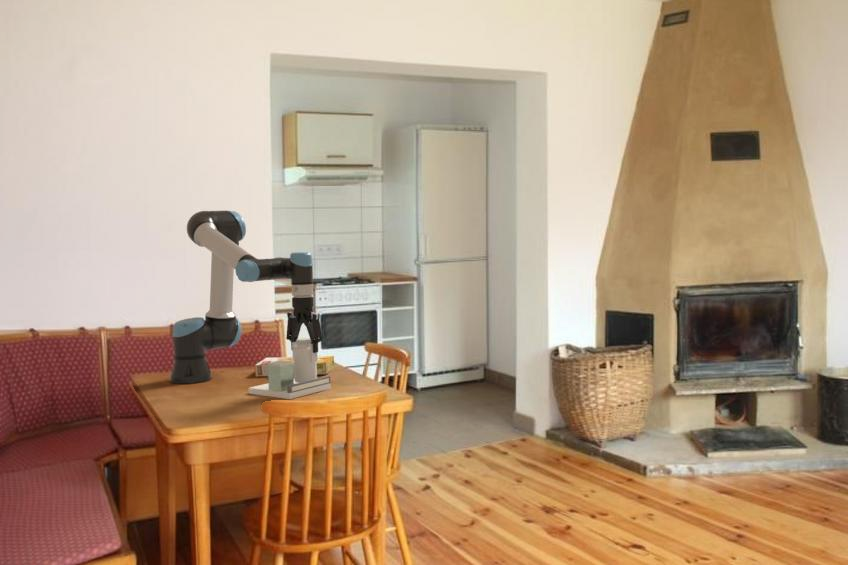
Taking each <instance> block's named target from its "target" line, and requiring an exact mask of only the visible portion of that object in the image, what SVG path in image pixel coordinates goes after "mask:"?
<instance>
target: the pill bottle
mask: <svg viewBox="0 0 848 565" xmlns="http://www.w3.org/2000/svg"><path fill="white" fill-rule="evenodd" d="M310 343H311V339H310V337H301V338H298V339H297V340H296V344H297V345H298V346H297V347H295V348H294V350H293V351H292V357H293V359H294V375H293V378H294V380H295V382H298V383H301V382H306V381H310V380H314V379H318V375H317V365H316V362H310Z"/></svg>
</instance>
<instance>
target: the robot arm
mask: <svg viewBox="0 0 848 565" xmlns="http://www.w3.org/2000/svg"><path fill="white" fill-rule="evenodd" d="M246 232H247V226H246V222H245V220H244V218H243V216H242V215H241V214H240V213H239V212H237V211H235V210H201V211H198V212H195V213H194V214H193V215H192V216H190V218H189V219H188V221H187V224H186V233H187V236H188V238H189V239H190V240H191V241H192V243H194V244H195V245H196V246H198V247H201V248H202V247H203V248H205V249H207V250H208V251H209V252H211V266H210V288H209V289H210V291H209V296H210V297H209V310H208V311H207V312H206V313H205V318H203V317H201V316H199V317H197V316H196V317H191V318H190V317H189V318H185V319H181V320H178V321H175V323H174V324H173V325H172V338H173V339H172V340H173V357H174V362H173V364H172V365H173V366H172V368H171V369H172V370H171V374H170V376H169V377H170V383H172V384H195V383H196V384H197V383H202V382H203V383H204V382H207V381H210V380H212V371H211V369H210V366H209V364H208V361H207V358H206V357H207V356H206V355H207V354H206V351H212V350H217V349H227V348H229V347H230V348H231V347H233V346H236V344H237V343H239V341H240V339H241V337H242V325H241V321H240V320H239V319H238V318H237V315H236V313H235V312H234V311H233V298H234V297H233V295H234V293H233V292H234V273H235V275H236V276H237V279H238V280H239V281H241V283H242V282H243V283H247V282H248V283H253V282H263V281H271V280H272V281H274V280H291V281H290V283H291V284H290V285H291V296H293V297H292V298H291V308H293V311H289V312H287V314H286V316H287V327H286V337H285V339H286V340H287V341H290V346H291V347H290V348H291V349H290V350H291V351H292V352H293V350H294V348H295V347H297V346H298V345H297V344H296V340H297V339H299V335H300V332H301V329H302V325H303V324H304V326H305V327H306V331H307V334H308V336H309V338H310V339H311V343H310V362H317V357H318V353H319V343H320V342H323V334H322V327H321V320H320V318H321V314H320V312H318V313H316V312H314V310H313V309H314V306H315V301H314V296H313V295H314V275H313V274H314V272H313V270H314V269H313V265H314V264H313V256H312V253H311V252H310V251H309V252H308V251H303V252H300V251H299V252H292V253H290V255H289V257H274V258H261V259H260V258H256V257H255V256H253V255H252V254H251V253H249V252H248V251H246V250H245V249H244V248H243V247H241V246H240V242H241V241H242V240H244V238H245V236H246ZM293 361H294V359H293Z"/></svg>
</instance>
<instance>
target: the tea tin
mask: <svg viewBox="0 0 848 565" xmlns="http://www.w3.org/2000/svg"><path fill="white" fill-rule="evenodd" d="M267 365H268V376H267V378H268V383H269V390H275V391H285V390H287V386H289V385H293V384H294V375H293V362H292V361H282V360H280V361H275V362H270V363H267Z"/></svg>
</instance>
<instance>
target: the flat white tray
mask: <svg viewBox="0 0 848 565" xmlns="http://www.w3.org/2000/svg"><path fill="white" fill-rule="evenodd" d="M331 388H332V386H331V376H330V375H327V376H323V377H317V379H314V380H310V381H306V382H301V383H298V382H295V380H294V384H293V385H289V386H287V390H285V391H275V390H269V383H264V384H260V385H254V386H251V387H248V394H249V395H250V394H251V395H255V396H256V395H257V396H263V397H264V396H265V397H272V398H279V399H285V400H292V399H296V398H300V397H303V396H308V395H312V394H316V393H318V392H324V391H327V390H331Z"/></svg>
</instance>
